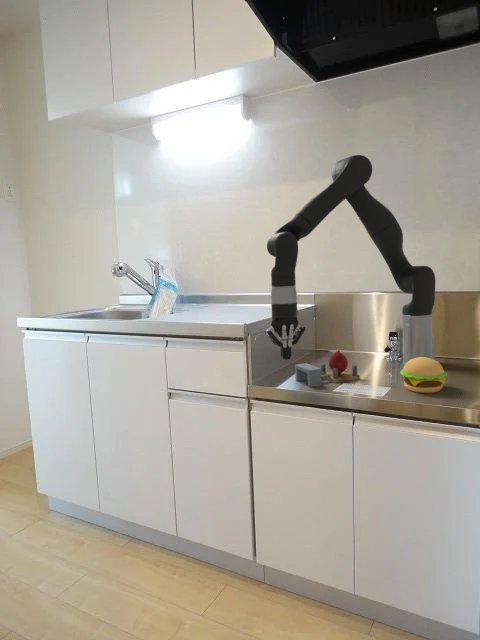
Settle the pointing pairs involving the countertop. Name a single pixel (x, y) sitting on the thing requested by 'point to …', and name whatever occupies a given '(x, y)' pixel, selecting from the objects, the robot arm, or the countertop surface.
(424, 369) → the hamburger
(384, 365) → the countertop surface
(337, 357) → the onion
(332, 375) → the pin seat
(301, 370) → the housing
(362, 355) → the countertop surface
